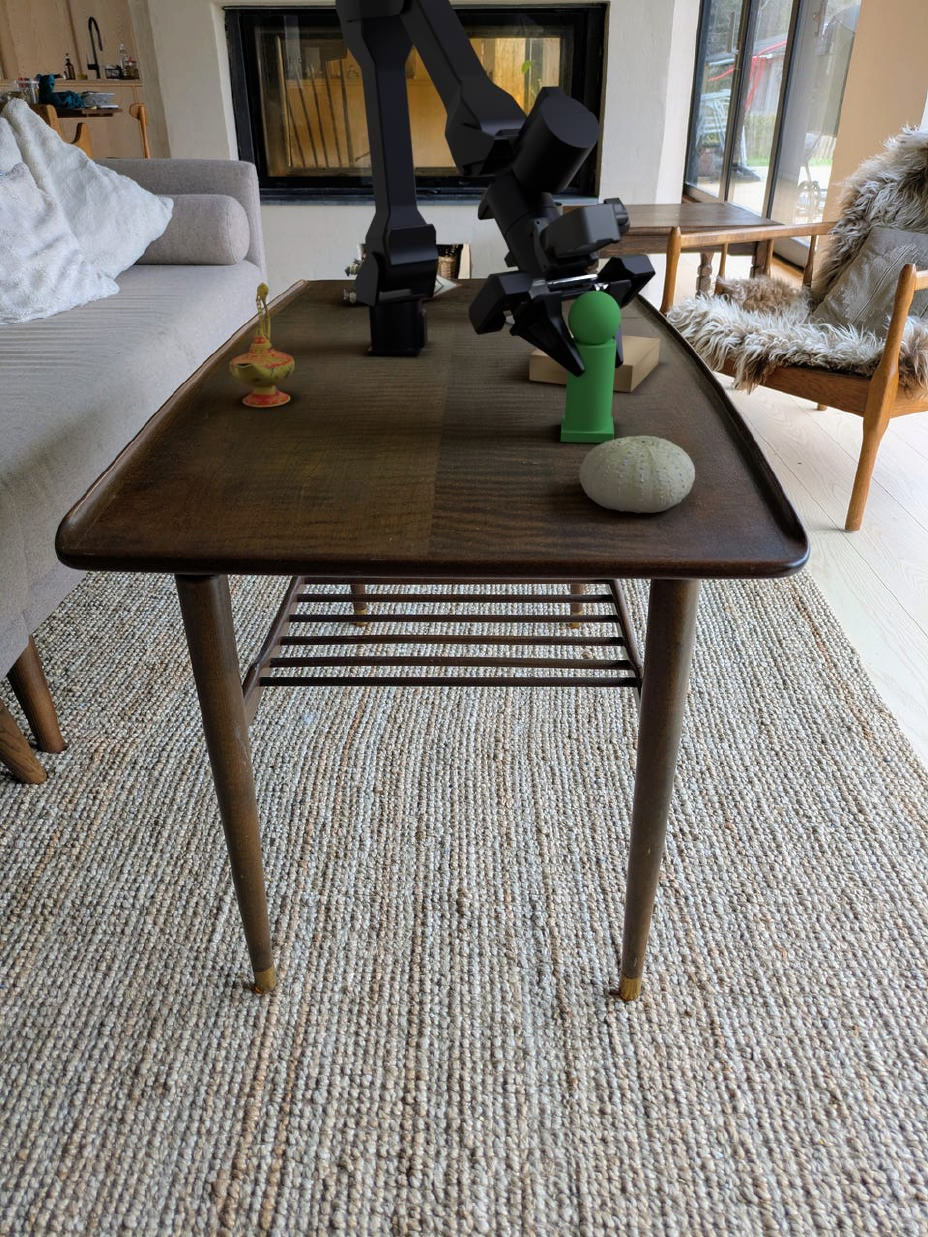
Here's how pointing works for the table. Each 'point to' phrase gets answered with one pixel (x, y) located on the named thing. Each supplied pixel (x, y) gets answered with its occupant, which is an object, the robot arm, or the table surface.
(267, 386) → the magic lamp
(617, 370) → the wooden block
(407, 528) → the table surface
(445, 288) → the figurine
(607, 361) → the green toy
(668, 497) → the sea urchin shell
